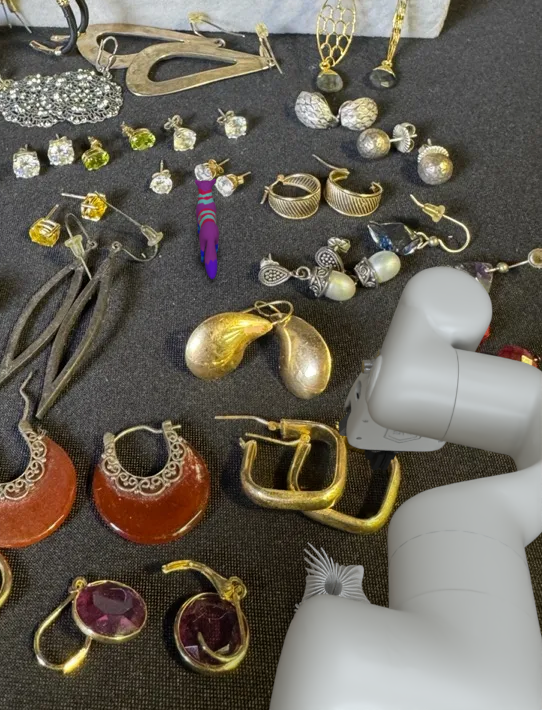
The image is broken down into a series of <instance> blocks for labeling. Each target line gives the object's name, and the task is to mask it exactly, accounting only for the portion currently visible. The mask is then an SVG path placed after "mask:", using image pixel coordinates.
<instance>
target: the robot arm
mask: <svg viewBox="0 0 542 710" xmlns="http://www.w3.org/2000/svg"><path fill="white" fill-rule="evenodd" d="M492 318H493V304H492V300H491V297H490V295H489V293H488V291H487V290H486V288H485V287H484V285H483V284H482V283H481V282H480V281H479V280H477V278H476V277H474V276H472V275H471V274H469V273H467V272H465V271H463V270H461V269H458V268H454V267H449V266H433V267H428V268H425V269H422V270H420V271H418V272H416V274H414V275H413V276H412V277H410V279H409V280H408V281H407V282H406V284H405V286H404V288H403V290H402V293H401V295H400V298H399V300H398V303H397V306H396V308H395V311H394V313H393V316H392V318H391V320H390V324H389V326H388V328H387V332H386V334H385V336H384V340H383V341H382V344H381V348H378V350H377V353H376V354H375V356H373V357H372V358H369V359H362V360H361V363H360V364H361V366H360V367H361V372H360V373H359V375H358V376H357V378H356V379H355V381H354V382H353V384H352V386H351V387H350V390H349V392H348V395H347V397H346V399H345V402H344V405H343V410H344V411H345V413H346V414H345V415H344V416H343V417H342V418H341V420H340V421H338V424H337V425H338V432H339V433H338V434H339V435H340V436H342V437H346V438H347V443H348V444H349V445H350V446H351V447H353V448H356V449H361V450H364V457H365V460H369V462H370V463H369V464H370V470H372V471H377V470H381V471H387V470H388V468H389V465H390V464H391V462H392V461H394V460H395V458H396V456H397V454H401V453H403V452H434V451H435V452H436V451H438V450H440V449H442V448H443V447H444V446H445V444H446V443H450V444H455V445H459V446H464V447H469V448H473V449H474V448H475V449H479V450H483V451H487V452H492V453H496V454H500V455H505V456H509V457H510V458H511V459H512V460H513V462H514V464H515V466H516V471H512V472H507V473H501V474H496V475H490V476H485V477H478V478H475V479H469V480H464V481H458V482H454V483H453V482H452V483H450V484H446V485H445V484H444V485H441V486H436V487H433V488H429V489H426V490H423V491H421V492H419V493H417V494H415V495H413V496H412V497H410V498H409V499H406V500H405V501H404V502H403V503H402V504H400V505H399V507H398V508H397V509H396V510H395V512H394V513H393V515H392V517H391V519H390V520H389V524H388V528H387V567H388V570H387V571H388V572H387V573H388V607H385V606H382V605H378V604H375V603H370V604H369V603H365V602H361V601H357V600H353V599H349V598H345V597H340V596H335V595H333V594H332V595H330V594H319V595H314V596H313V597H311V598H309V599H308V600H306V601H305V602H304V603H303V604H302V605H301V606H300V605H299V606H300V608H299V609H298V608H297V612H295V613H294V614H295V615H293V618H292V620H291V622H290V624H289V627H288V628H287V631H286V634H285V638H284V642H283V645H282V648H281V653H280V656H279V660H278V663H277V668H276V672H275V677H274V683H273V687H272V693H271V698H270V703H269V707H268V708H269V709H268V710H542V634H541V628H540V621H539V618H538V617H539V616H538V612H537V606H536V601H535V595H534V590H533V585H532V580H531V579H532V578H531V573H530V568H529V564H528V560H527V559H528V558H527V554H526V547H527V546H528V545H530V544H531V543H532V542H533V541H535V540H536V539H537V538H538V537H539V535H541V534H542V370H541V369H539V368H538V367H536V366H535V365H532V364H529V363H527V362H524V361H520V360H516V359H511V358H507V357H503V356H497V355H492V354H488V353H481V352H476V351H477V349H478V347H479V345H480V344H481V341H482V340H483V338H484V336H485V334H486V332H487V331H488V329H489V326H490V324H491V322H492Z"/></svg>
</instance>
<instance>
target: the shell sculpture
mask: <svg viewBox="0 0 542 710" xmlns="http://www.w3.org/2000/svg"><path fill="white" fill-rule="evenodd" d="M307 544H308V546H310V548H311V549H312V550H313V551H314V553H315V554H316V555H317V557H318V558H317V557H315V556H314V555H313V554H311V552H310V551H309V550H308V549H306V548H304V549H303V551H304V552H305V553H306V554H307V555H309V556H310V558H311V559H312V560H313V562H314V563H313V562H311V560H310V559H309V558H307V557H306V556H305V557H303V560H304V561H306V562H307V563H308V564H309V566H310V567H311V568H308V567H304V568H305V570H306V572H307V575H306V577H305V582H306V583H305V589H304V593H303V597H302V599H301V602H299V604H298V603H295V605H294V606H295V607H296V608H294V609H293V610H294V612H295V613H296V612H297V610H298V609H299V608H300V606H301V605H302V604H303V603H304V602H305V601H306V600H308V599H309V598H311V597H313V596H315V595H319V594H330V595H335V596H340V597H345V598H349V599H353V600H357V601H361V602H365V603H369V604H371V602H370V600H369V599H368V598H367V596H366V595H365V592H364V590H363V585H362V583H363V578H364V572H365V568H364V566H363V565H361V564H357V565H356V564H351V565H347V566H346V565H344V564H341V565H340V564H339V562H335V563H334V560H333V558H332V556H331V557H330V560H329V557H328V554H327V553H326V551H325V550H324V549H323V547H320V550H321V552H322V554H323V555H322V554H321V553H320V552H319V550H317V549H316V548H315V547H314V546H313V545H312V544H311V543H309V541H308V542H307ZM330 561H331V562H330ZM295 613H294V615H295ZM294 615H293V616H294Z"/></svg>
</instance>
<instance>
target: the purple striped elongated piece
mask: <svg viewBox="0 0 542 710" xmlns="http://www.w3.org/2000/svg"><path fill="white" fill-rule="evenodd" d="M216 182H217V179H216V178H213V179H211V180H208V179H202V180H199V179H194V184H195V185H196V187H197V192H198V196H197V204H196V206H195V219H196V224H197V230H196V231H195V233H196V235H197V236H198V240H199V248H200V258H199V263H200V264H204V268H205V271H206V274H207V276H208V278H209V279H210V280H214V279H215V278H216V276H217V273H218V250H219V240H220V230H219V226H218V225H217V206H216V203H215V201H214V196H213V187H214V186H215V184H216Z"/></svg>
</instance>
